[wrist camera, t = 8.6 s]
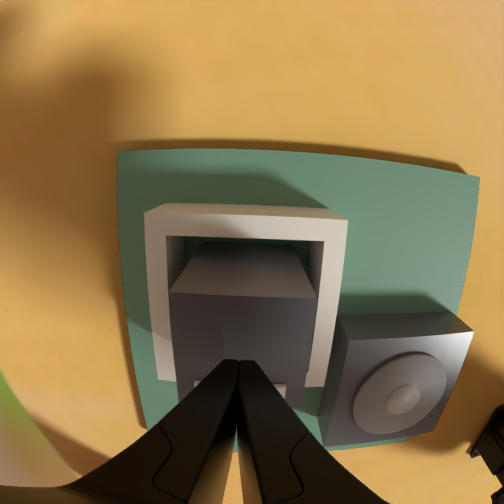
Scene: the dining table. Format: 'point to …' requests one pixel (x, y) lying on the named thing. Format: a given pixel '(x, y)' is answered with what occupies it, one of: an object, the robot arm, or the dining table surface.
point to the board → (313, 196)
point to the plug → (243, 314)
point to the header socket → (245, 226)
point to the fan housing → (390, 375)
